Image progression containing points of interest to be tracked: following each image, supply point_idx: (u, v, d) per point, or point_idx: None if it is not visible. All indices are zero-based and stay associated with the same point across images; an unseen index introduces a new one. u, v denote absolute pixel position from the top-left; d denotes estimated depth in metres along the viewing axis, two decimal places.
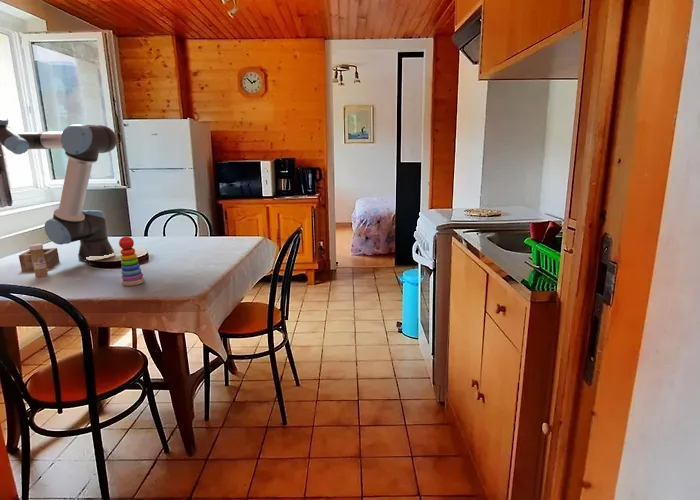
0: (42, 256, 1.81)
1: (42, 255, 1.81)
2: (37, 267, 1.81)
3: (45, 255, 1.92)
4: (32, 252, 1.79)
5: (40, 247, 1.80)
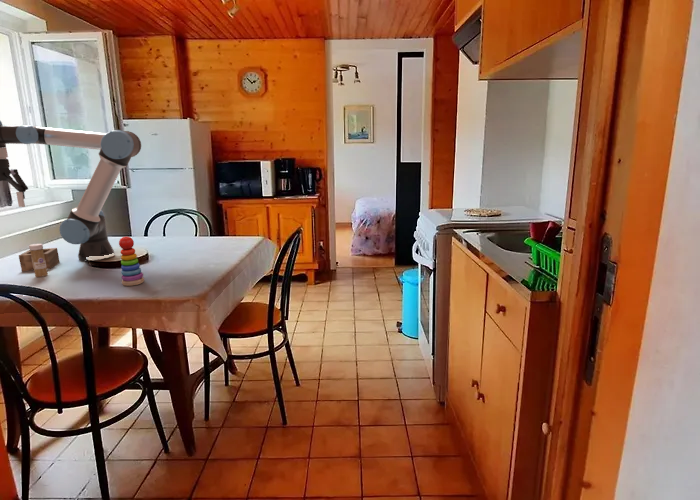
0: (42, 256, 1.81)
1: (42, 255, 1.81)
2: (37, 267, 1.81)
3: (45, 255, 1.92)
4: (32, 252, 1.79)
5: (40, 247, 1.80)
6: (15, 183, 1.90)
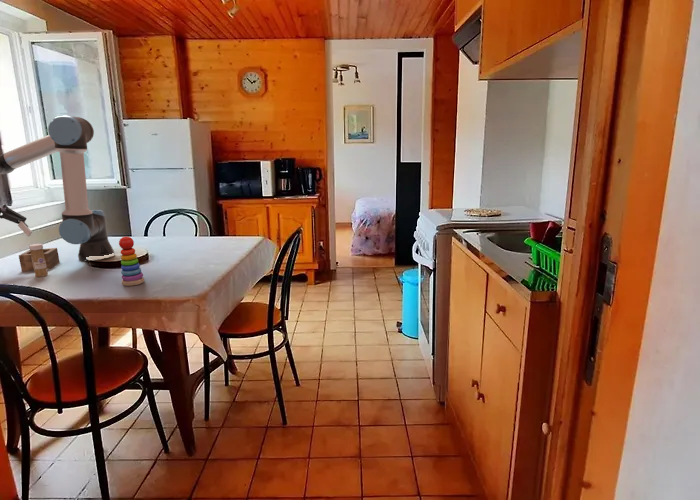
0: (42, 256, 1.81)
1: (42, 255, 1.81)
2: (37, 267, 1.81)
3: (45, 255, 1.92)
4: (32, 252, 1.79)
5: (40, 247, 1.80)
6: (10, 215, 1.87)
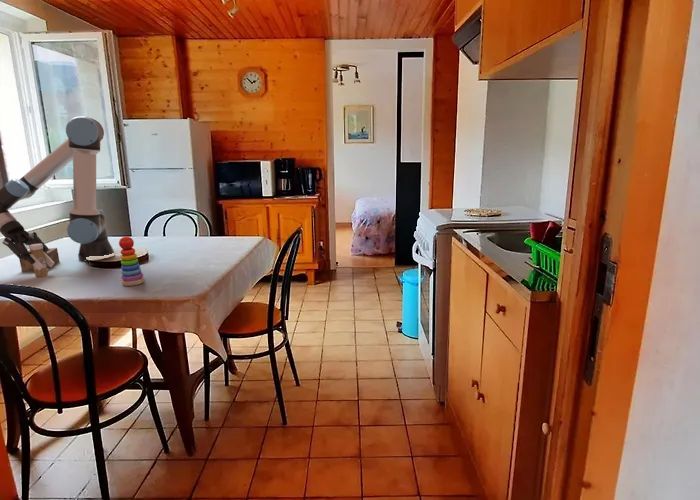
0: (42, 256, 1.81)
1: (42, 255, 1.81)
2: None
3: None
4: (32, 252, 1.79)
5: (40, 247, 1.80)
6: (35, 243, 1.84)
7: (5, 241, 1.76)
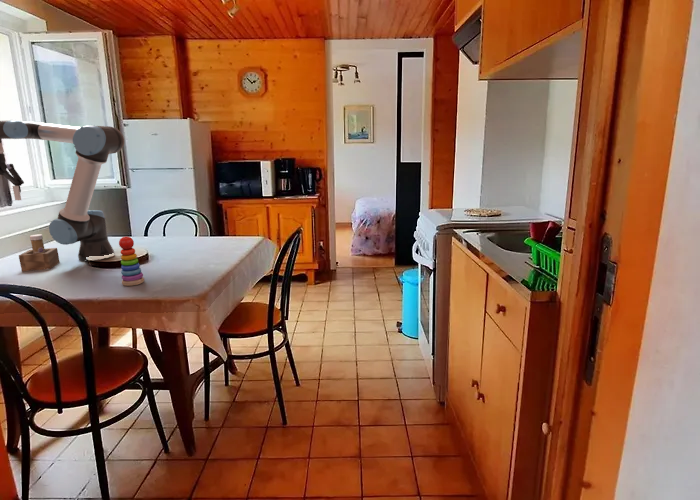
0: (42, 246, 1.95)
1: (42, 245, 1.95)
2: None
3: (45, 255, 1.92)
4: (32, 242, 1.93)
5: (40, 237, 1.94)
6: (11, 177, 1.97)
7: None
